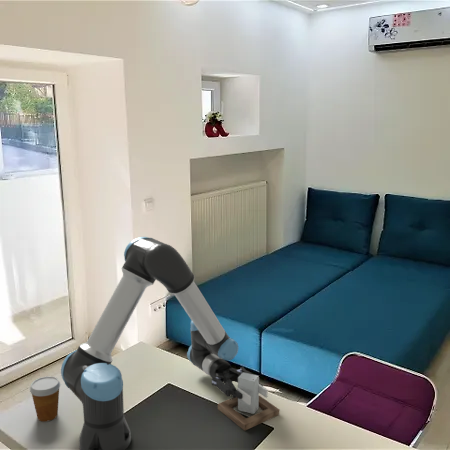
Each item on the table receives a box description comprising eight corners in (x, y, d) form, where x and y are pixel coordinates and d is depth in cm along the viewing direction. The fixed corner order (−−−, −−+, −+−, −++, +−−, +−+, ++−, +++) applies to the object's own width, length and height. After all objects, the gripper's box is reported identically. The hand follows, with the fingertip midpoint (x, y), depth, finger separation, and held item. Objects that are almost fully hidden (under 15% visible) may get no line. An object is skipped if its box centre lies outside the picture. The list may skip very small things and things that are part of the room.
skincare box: (258, 408, 165) (259, 375, 163) (254, 414, 161) (254, 381, 159) (242, 403, 168) (242, 371, 165) (237, 410, 164) (237, 377, 161)
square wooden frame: (244, 430, 155) (244, 425, 154) (217, 409, 166) (217, 403, 166) (279, 414, 163) (279, 409, 163) (251, 395, 175) (251, 390, 174)
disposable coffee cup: (30, 426, 156) (27, 392, 154) (33, 410, 165) (30, 377, 163) (62, 422, 159) (59, 388, 156) (63, 405, 168) (61, 373, 165)
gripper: (238, 369, 184) (280, 397, 165) (194, 386, 172) (234, 417, 154) (238, 351, 182) (280, 377, 164) (194, 366, 171) (234, 396, 153)
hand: (258, 397), depth 159 cm, fingers closed on skincare box, 6 cm apart
